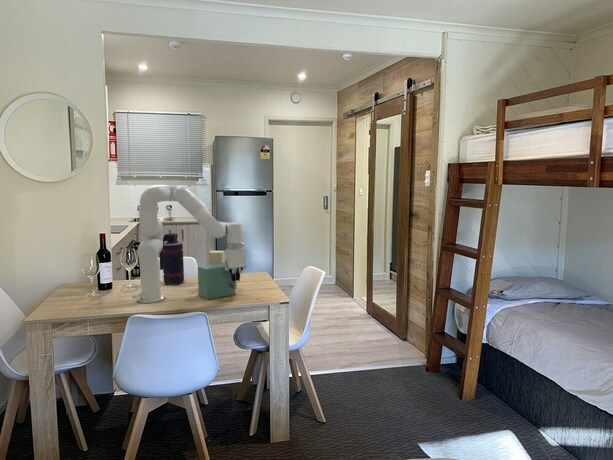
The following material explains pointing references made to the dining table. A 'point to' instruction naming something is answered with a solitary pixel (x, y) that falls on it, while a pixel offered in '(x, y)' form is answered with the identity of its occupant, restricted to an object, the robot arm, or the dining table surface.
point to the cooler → (203, 277)
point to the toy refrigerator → (216, 257)
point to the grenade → (172, 260)
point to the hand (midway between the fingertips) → (235, 280)
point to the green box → (219, 283)
